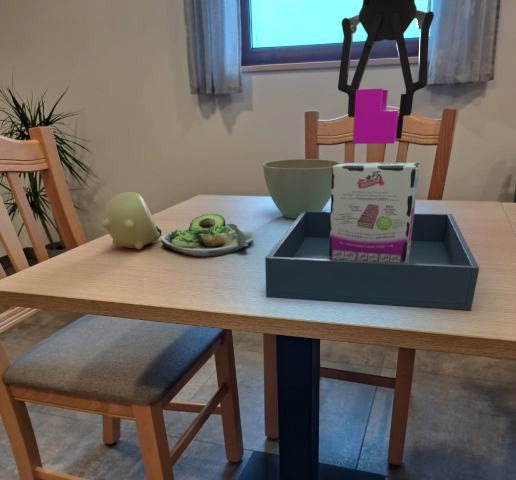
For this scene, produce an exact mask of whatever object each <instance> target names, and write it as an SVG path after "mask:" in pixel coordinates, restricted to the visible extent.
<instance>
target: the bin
mask: <svg viewBox="0 0 516 480" xmlns="http://www.w3.org/2000/svg"><path fill="white" fill-rule="evenodd" d="M330 219H331V210H330V211H329V210H328V211H327V210H322V211H303V212H302V213H301V214H300V215H299V217H298V218H297V219H295V220H294V221H293V223H292V224H291V225H290V226H289V228H288V229H287V230H286V232H285V233H284V234H283V235H282V237H281V238H280V239H279V240H278V242H277V243H276V244H275V246H274V247H272V249H271V250H270V252H269V253H268V254H267V255H266V256H265V261H264V263H265V266H264V267H265V297H266V298H278V299H279V298H280V299H296V300H307V301H308V300H309V301H310V300H311V301H322V302H323V301H325V302H337V303H338V302H339V303H351V304H352V303H354V304H355V303H356V304H367V305H383V306H384V305H385V306H396V307H397V306H398V307H413V308H414V307H415V308H427V309H441V310H442V309H443V310H458V311H460V310H461V311H472V307H473V302H474V299H475V298H474V297H475V294H476V293H475V292H476V288H477V282H478V277H479V272H480V267H479V265H478V263H477V260H476V258H475V257H474V255H473V253H472V251H471V249H470V247H469V245H468V243H467V241H466V240H465V237H464V235H463V233H462V231H461V229H460V227H459V226H458V223H457V221H456V219H455V218H454V216H453V214H452V213H424V212H423V213H421V212H420V213H419V212H418V213H417V212H416V213H415V212H414V218H413V228H412V236H411V246H410V254H409V263H398V262H376V261H354V260H333V259H329V245H330Z"/></svg>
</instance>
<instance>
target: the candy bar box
mask: <svg viewBox="0 0 516 480" xmlns="http://www.w3.org/2000/svg"><path fill="white" fill-rule="evenodd" d="M419 173H420V162H340V163H339V164H337V165H334V166H333V167H332V186H331V198H330V211H331V219H330V245H329V259H333V260H354V261H376V262H398V263H409V254H410V246H411V236H412V228H413V218H414V213H415V208H416V201H417V191H418V181H419Z"/></svg>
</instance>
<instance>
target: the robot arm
mask: <svg viewBox="0 0 516 480" xmlns="http://www.w3.org/2000/svg"><path fill="white" fill-rule="evenodd" d="M434 17H435V14H434V12H433V11H432V10H429V11H423V10H419V9H418V8H417V5H416V1H415V0H362V5H361V8H360V10H359V12H358V14H357V15H354V16H352V17H349V18H348V17H344V18H342V20H341V28H342V35H343V40H342V49H341V57H340V66H339V75H338V82H337V90H338V91H339V92H342V93H345V94H346V95H347V97H348V99H347V100H348V104H347V116H348V118H354V116H355V99H356V90H359V89H360V85H361V83H362V80H363V78H364V75H365V72H366V69H367V66H368V64H369V61H370V58H371V55H372V53H373V50H374V48H375V45H376V44H378V43H384V42H389V43H392V42H394V43H396V49H397V54H398V58H399V63H400V69H401V73H402V78H403V82H404V88H405V93H401V94H400V101H399V110H398V116H399V120H398V130H397V139H396V140H402V136H403V125H404V117H409V116H411V114H412V111H413V103H414V95H415V93H416V92H417V91H420V90H422V89H424V88H426V86H427V83H428V61H429V38H430V36H429V35H430V30H431V26H432V23H433V20H434ZM414 20H416V27H417V29H419V30H420V34H419V49H418V51H419V52H418V77H417V79H418V80H417V81H415V82H414V80H413V75H412V70H411V66H410V59H409V55H408V49H407V46H406V39H405V33H406V31H407V30H408V28H409V27H410V25H411V24H412V22H413V21H414ZM359 24H361V26H362V28H363V30H364V31H365V33H366V35H367V36H366V39H365V42H364V45H363V48H362V51H361V54H360V57H359V60H358V63H357V66H356V68H355V71H354V74H353V77H352V79H351V83H350V84H348V81H349V72H350V67H351V66H350V64H351V57H352V51H353V43H354V42H353V41H354V37H353V36H354V34H356V32H357V30H358V26H359ZM353 133H354V128H353V132H352V134H353Z"/></svg>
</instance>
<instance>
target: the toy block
mask: <svg viewBox="0 0 516 480" xmlns="http://www.w3.org/2000/svg"><path fill="white" fill-rule="evenodd" d="M388 94H389V90H388V89H384V88H365V89H364V88H362V89H360V88H359V89H358V90H356V99H355V116H354V117H353V129H354V133H353V132H352V144H353V145H375V144H376V145H379V144H380V145H381V144H382V145H383V144H384V145H385V144H387V145H388V144H389V145H391V144H395V143H396V141H397V140H398V139H397V130H398V120H399V110H398V109H395V110H393V109H391V110H390V109H389V110H387V106H388V96H389V95H388Z"/></svg>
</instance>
